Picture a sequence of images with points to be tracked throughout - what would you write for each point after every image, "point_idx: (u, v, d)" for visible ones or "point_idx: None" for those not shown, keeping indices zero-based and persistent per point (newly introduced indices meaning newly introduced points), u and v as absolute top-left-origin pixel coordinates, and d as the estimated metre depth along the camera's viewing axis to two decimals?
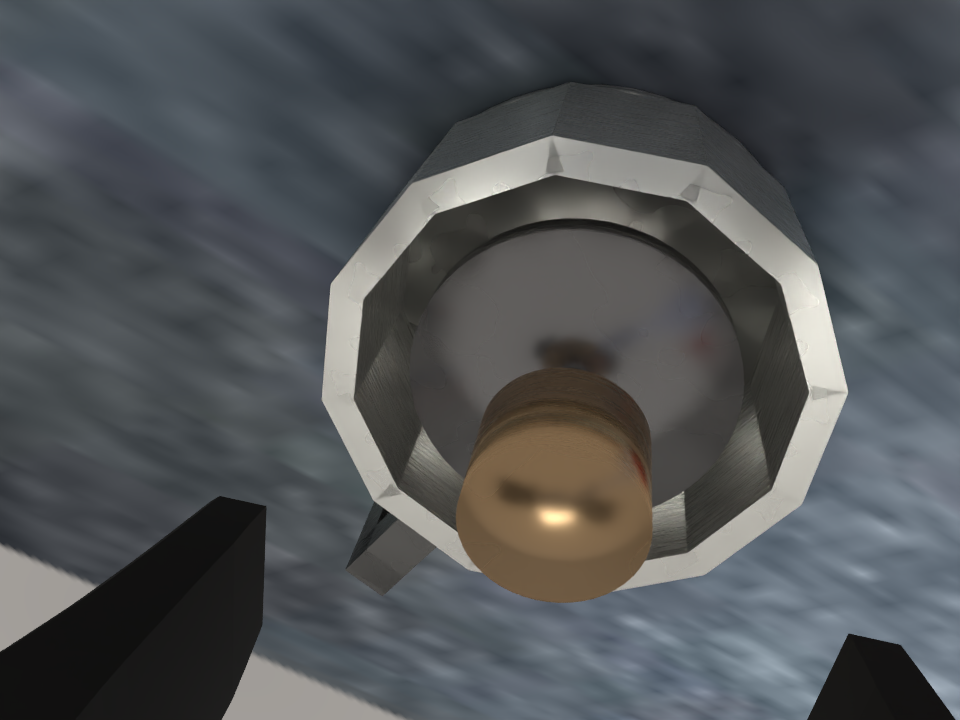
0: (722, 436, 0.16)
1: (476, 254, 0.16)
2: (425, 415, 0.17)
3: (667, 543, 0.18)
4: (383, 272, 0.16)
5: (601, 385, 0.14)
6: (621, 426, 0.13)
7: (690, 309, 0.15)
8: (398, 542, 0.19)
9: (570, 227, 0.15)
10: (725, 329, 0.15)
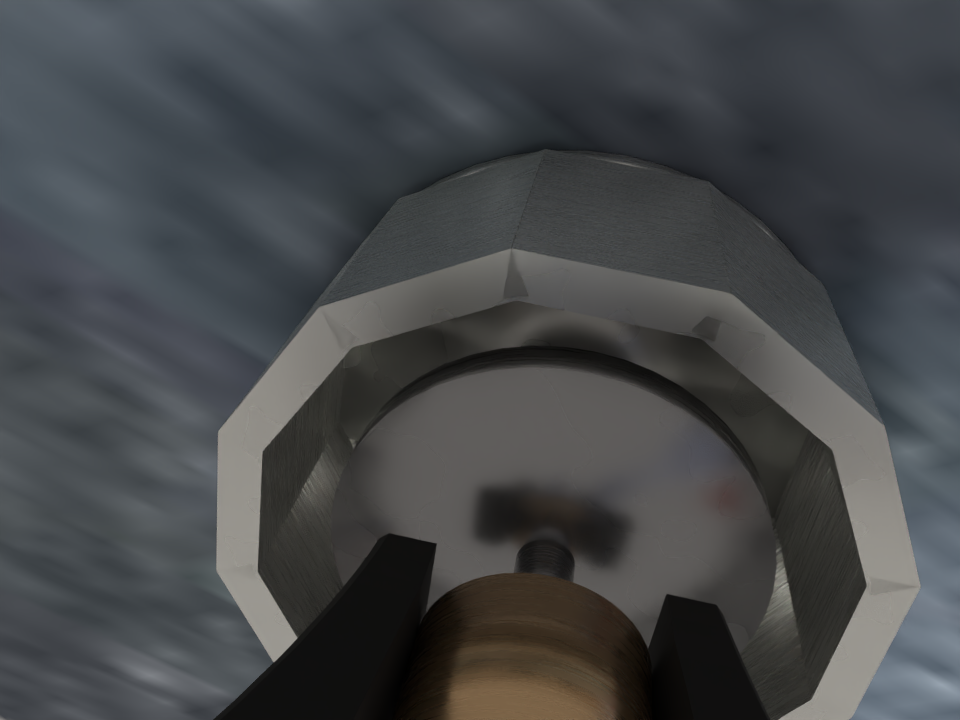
0: (746, 628, 0.12)
1: (413, 394, 0.11)
2: None
3: None
4: (286, 419, 0.11)
5: (580, 603, 0.10)
6: (608, 677, 0.09)
7: (704, 472, 0.11)
8: None
9: (540, 361, 0.11)
10: (752, 499, 0.11)
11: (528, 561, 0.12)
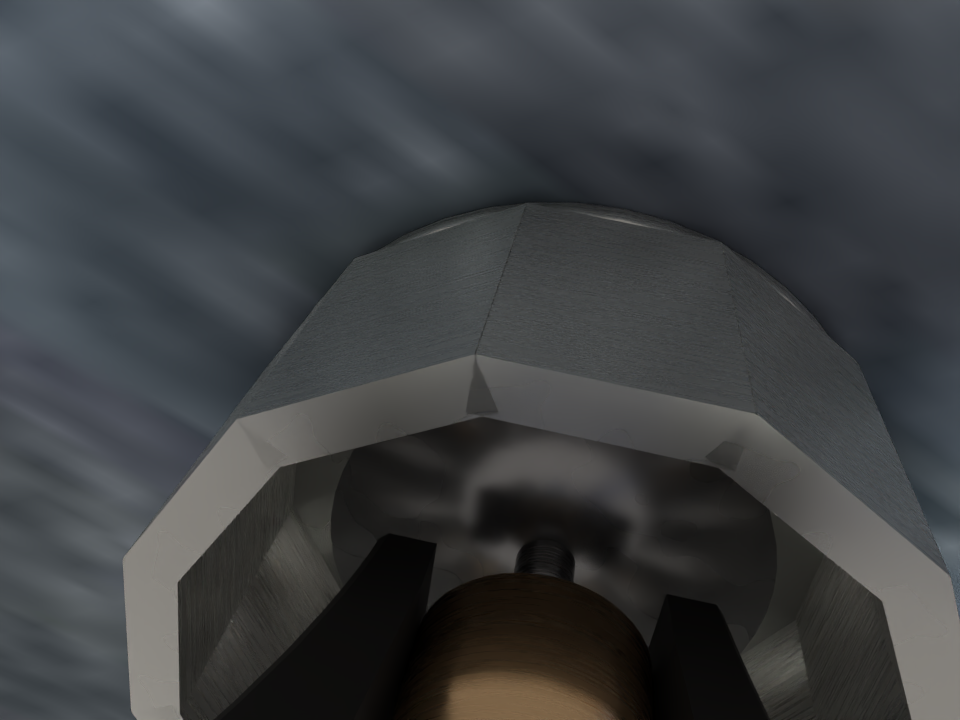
0: (746, 628, 0.12)
1: None
2: None
3: None
4: (204, 547, 0.09)
5: (581, 603, 0.10)
6: (608, 677, 0.09)
7: (705, 472, 0.11)
8: None
9: None
10: (752, 499, 0.11)
11: (528, 561, 0.12)
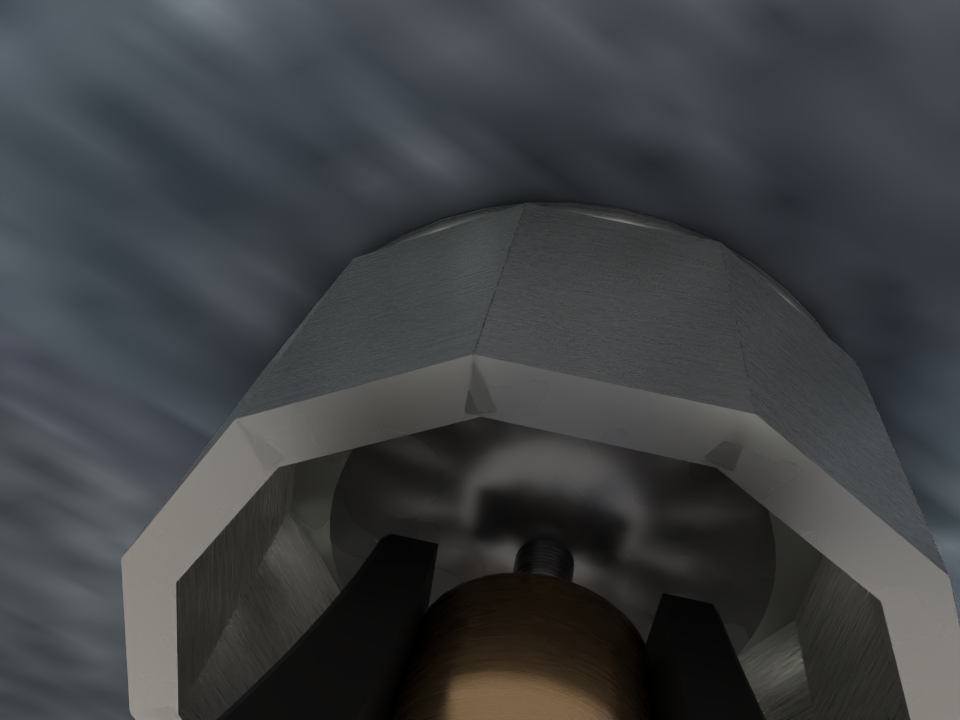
0: (745, 628, 0.12)
1: None
2: None
3: None
4: (203, 547, 0.09)
5: (581, 602, 0.10)
6: (607, 677, 0.09)
7: (704, 472, 0.11)
8: None
9: None
10: (751, 499, 0.11)
11: (527, 561, 0.12)
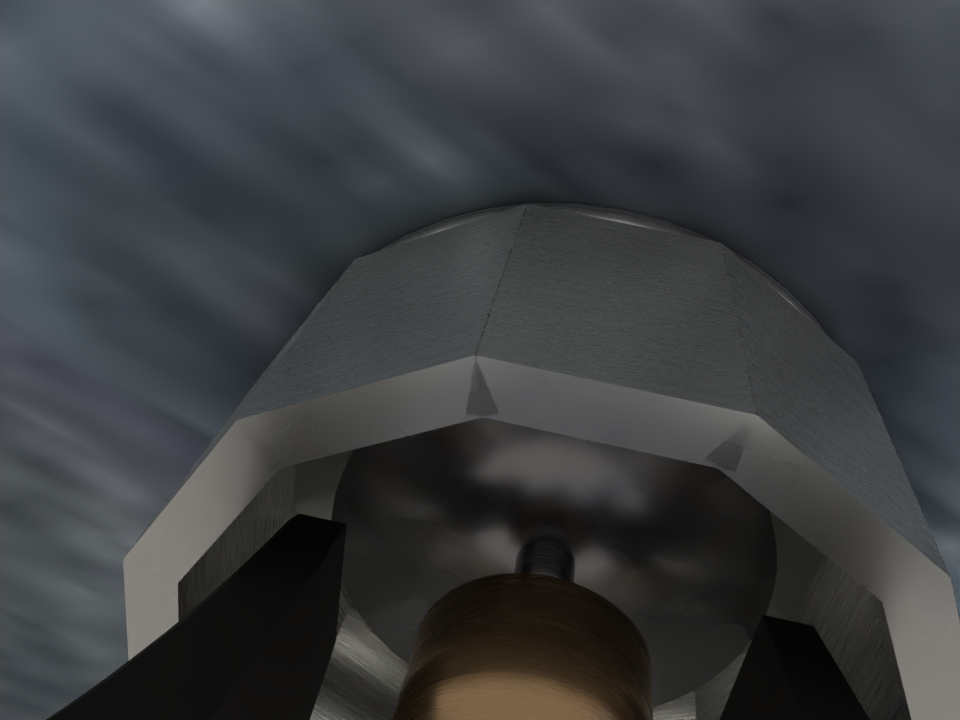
0: (746, 628, 0.12)
1: None
2: (354, 589, 0.13)
3: None
4: (205, 547, 0.09)
5: (581, 603, 0.10)
6: (609, 678, 0.09)
7: (705, 472, 0.11)
8: None
9: None
10: (752, 500, 0.11)
11: (528, 561, 0.12)
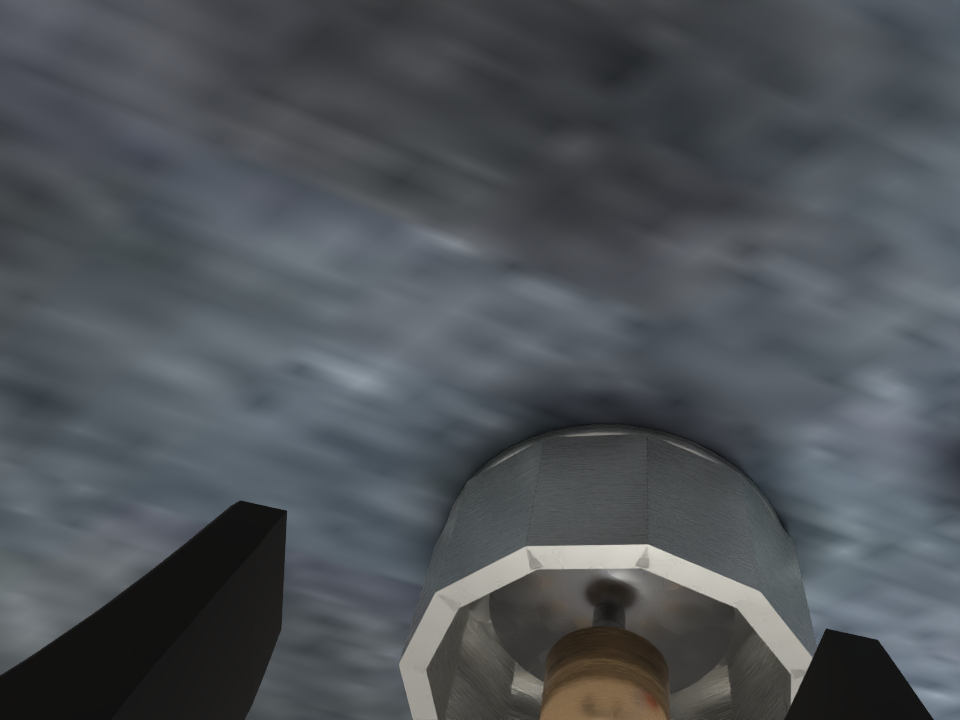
0: (727, 626, 0.22)
1: None
2: (513, 652, 0.24)
3: None
4: (434, 650, 0.20)
5: (616, 636, 0.20)
6: (633, 669, 0.19)
7: None
8: None
9: None
10: None
11: (597, 617, 0.22)
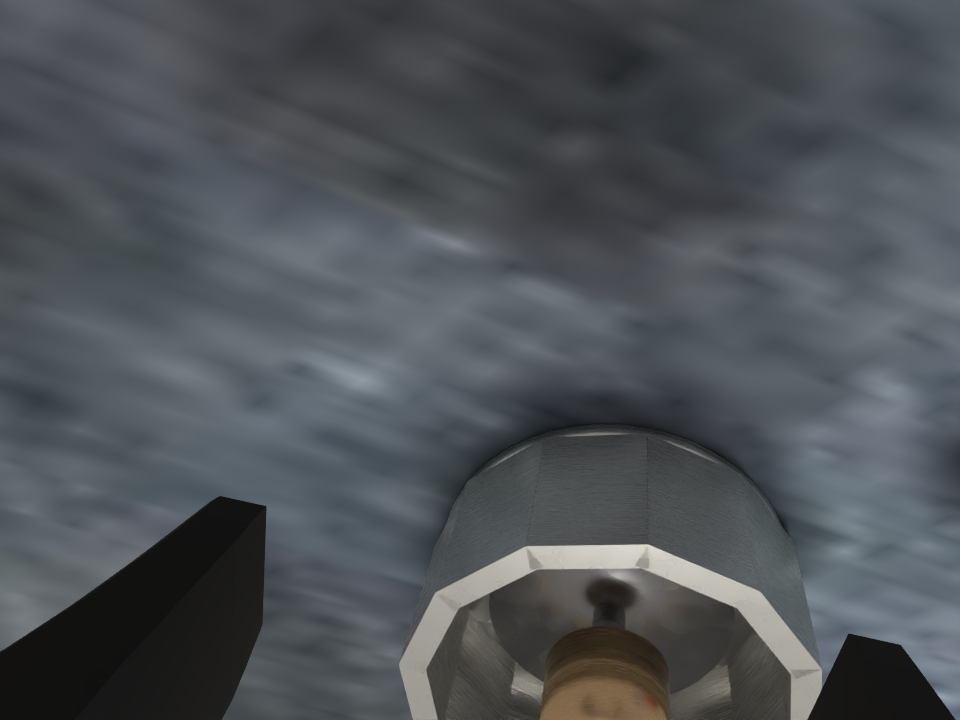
0: (727, 626, 0.22)
1: None
2: (513, 652, 0.24)
3: None
4: (434, 650, 0.20)
5: (616, 636, 0.20)
6: (633, 669, 0.19)
7: None
8: None
9: None
10: None
11: (597, 617, 0.22)
